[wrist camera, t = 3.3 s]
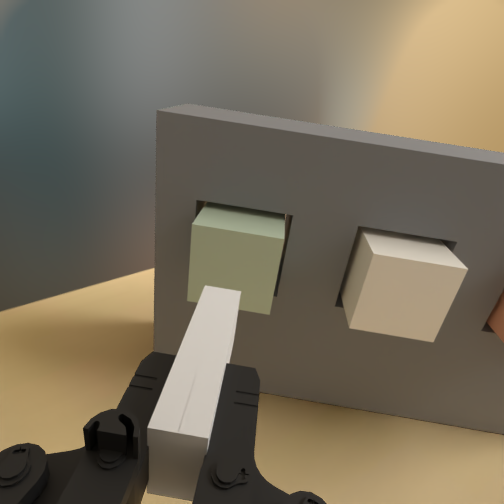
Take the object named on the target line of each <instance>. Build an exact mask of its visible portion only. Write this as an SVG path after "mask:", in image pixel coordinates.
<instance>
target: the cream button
mask: <svg viewBox="0 0 504 504" xmlns="http://www.w3.org/2000/svg"><path fill="white" fill-rule="evenodd" d="M467 271H468V268H467V267H466V266H465V265H464V264H463V263H462V262H461V261H460V260H459V259H458V258H457V257H456V256H455V255H454V254H453V253H452V252H451V251H450V250H449V249H448V248H447V247H446V246H445V245H444V244H443V243H442V242H441V240H440V239H436V238H430V237H424V236H418V235H412V234H406V233H399V232H393V231H387V230H381V229H375V228H368V227H362V226H358V229H357V233H356V236H355V239H354V243H353V246H352V250H351V253H350V256H349V260H348V263H347V266H346V270H345V273H344V277H343V280H342V283H341V287H340V294H341V298H342V302H343V306H344V310H345V314H346V318H347V322H348V326H349V328H351V329H357V330H363V331H369V332H375V333H381V334H387V335H393V336H399V337H404V338H410V339H416V340H422V341H428V342H434V340H435V338H436V336H437V334H438V331H439V329H440V327H441V325H442V323H443V321H444V319H445V317H446V315H447V313H448V311H449V308H450V306H451V304H452V302H453V300H454V298H455V296H456V294H457V292H458V290H459V288H460V285H461V283H462V281H463V279H464V277H465V275H466V273H467Z"/></svg>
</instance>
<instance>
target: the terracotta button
mask: <svg viewBox="0 0 504 504" xmlns="http://www.w3.org/2000/svg"><path fill="white" fill-rule="evenodd" d="M486 322H487V323H488V324H489V326H490V327H491V328H492V329H493V330H494V332H495V333H496V334H497V335H498V336H499V338H500V339H501V340H502V341H503V343H504V290H503V292H502V294H501V295H500V297H499V299H498V301H497V303H496V305H495V306H494V308H493V310H492V312H491V314H490V316H489V317H488V319H487V321H486Z"/></svg>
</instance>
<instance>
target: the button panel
mask: <svg viewBox="0 0 504 504" xmlns="http://www.w3.org/2000/svg"><path fill="white" fill-rule="evenodd" d="M156 123H157V124H156V199H155V201H156V202H155V277H154V352H159V353H165V354H171V355H177V353H178V351H179V348H180V346H181V343H182V341H183V338H184V336H185V334H186V331H187V329H188V326H189V324H190V321H191V319H192V316H193V314H194V311H195V309H196V306H197V304H198V303H196V302H190V301H187V295H188V279H189V264H190V248H191V232H192V223H193V222H194V220H195V219H196V217H197V216H198V214H199V213H200V212H201V210H202V209H203V207H204V206H205V204H206V203H207V201H208V202H214V203H220V204H226V205H232V206H239V207H245V208H251V209H257V210H263V211H269V212H276V213H282V214H287V215H286V220H285V236H284V244H283V249H282V254H281V259H280V264H279V269H278V274H277V280H276V285H275V290H274V295H273V300H272V305H271V310H270V315H268V314H262V313H256V312H250V311H244V310H238V315H237V322H236V329H235V336H234V343H233V348H232V352H231V357H230V362H229V364H235V365H241V366H246V367H252V368H256V371H257V374H258V376H259V379H260V390H259V392H262V393H267V394H273V395H279V396H285V397H290V398H296V399H302V400H308V401H314V402H319V403H325V404H331V405H337V406H342V407H348V408H354V409H360V410H366V411H371V412H377V413H383V414H389V415H394V416H400V417H406V418H412V419H417V420H423V421H429V422H435V423H441V424H446V425H452V426H458V427H464V428H469V429H475V430H481V431H487V432H492V433H498V434H504V343H503V341H502V340H501V339H500V338H499V336H498V335H497V334H496V333H495V332H494V330H493V329H492V328H491V327H490V326H489V324H488V323H487V322H486V321H487V319H488V317H489V316H490V314H491V312H492V310H493V308H494V306H495V305H496V303H497V301H498V299H499V297H500V295H501V294H502V292H503V290H504V153H501V152H495V151H488V150H482V149H476V148H470V147H463V146H456V145H450V144H444V143H437V142H431V141H424V140H418V139H411V138H405V137H399V136H392V135H386V134H380V133H373V132H367V131H360V130H354V129H347V128H341V127H335V126H328V125H322V124H315V123H309V122H302V121H296V120H289V119H283V118H276V117H270V116H264V115H257V114H251V113H244V112H238V111H231V110H225V109H219V108H212V107H206V106H200V105H193V104H183V105H179V106H174V107H169V108H165V109H160V110H157V119H156ZM358 226H362V227H368V228H375V229H381V230H387V231H393V232H399V233H406V234H412V235H418V236H424V237H430V238H436V239H440V240H441V242H442V243H443V244H444V245H445V246H446V247H447V248H448V249H449V250H450V251H451V252H452V253H453V254H454V255H455V256H456V257H457V258H458V259H459V260H460V261H461V262H462V263H463V264H464V265H465V266H466V267H467V268H468V271H467V273H466V275H465V277H464V279H463V281H462V283H461V285H460V288H459V290H458V292H457V294H456V296H455V298H454V300H453V302H452V304H451V306H450V308H449V311H448V313H447V315H446V317H445V319H444V321H443V323H442V325H441V327H440V329H439V331H438V334H437V336H436V338H435V340H434V342H428V341H422V340H416V339H410V338H404V337H399V336H393V335H387V334H381V333H375V332H369V331H363V330H357V329H351V328H349V326H348V322H347V318H346V314H345V310H344V306H343V302H342V298H341V294H340V287H341V283H342V280H343V277H344V273H345V270H346V266H347V263H348V260H349V256H350V253H351V250H352V246H353V243H354V239H355V236H356V233H357V229H358Z"/></svg>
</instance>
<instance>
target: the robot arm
mask: <svg viewBox="0 0 504 504" xmlns="http://www.w3.org/2000/svg"><path fill="white" fill-rule="evenodd" d="M240 295H241V291H236V290H230V289H224V288H218V287H212V286H206V285H205V287H204V289H203V292H202V294H201V297H200V299H199V301H198V304H197V306H196V309H195V311H194V314H193V316H192V319H191V321H190V324H189V326H188V329H187V331H186V334H185V336H184V338H183V341H182V343H181V346H180V348H179V351H178V353H177V355H171V354H165V353H159V352H154V351H153V352H152V353H151V354H149V355H148V356H147V357H146V358H145V359H143V360H142V361H141V363H140V365H139V367H138V369H137V371H136V372H135V375H134V377H133V378H132V380H131V382H130V384H129V387H128V388H127V390H126V392H125V393H124V395H123V397H122V399H121V401H120V403H119V405H118V407H117V409H110V410H107V411H104V412H101V413H99V414H98V415H96V416H94V417H93V418H91V419H90V420H89V422H88V423H87V424H86V425H85V426H84V427H83V431H84V440H85V446H84V447H82V448H80V449H76V450H72V451H66V452H59V453H52V454H45V451H44V450H43V449H42V448H41V447H40V446H39V445H35V444H31V443H24V444H17V445H14V446H12V447H9V448H7V449H5V450H3V451H1V452H0V504H141V500H142V498H143V495H144V492H145V489H146V486H147V493H150V494H156V495H161V496H167V497H172V498H178V499H183V500H189V501H193V503H192V504H326V503H325V501H324V500H323V499H322V498H320V497H319V496H317V495H315V494H313V493H311V492H305V491H298V492H295V493H292V494H290V495H289V494H287V493H285V492H283V491H282V490H280V489H278V488H276V487H275V486H273V485H272V484H270V483H269V482H267V481H266V480H265V479H264V477H263V476H262V475H261V474H260V472H259V470H258V468H257V467H256V463H255V460H254V446H255V435H256V424H257V413H258V402H259V390H260V379H259V376H258V374H257V371H256V368H252V367H246V366H241V365H235V364H229V362H230V357H231V352H232V348H233V343H234V336H235V329H236V322H237V315H238V309H239V302H240Z"/></svg>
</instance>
